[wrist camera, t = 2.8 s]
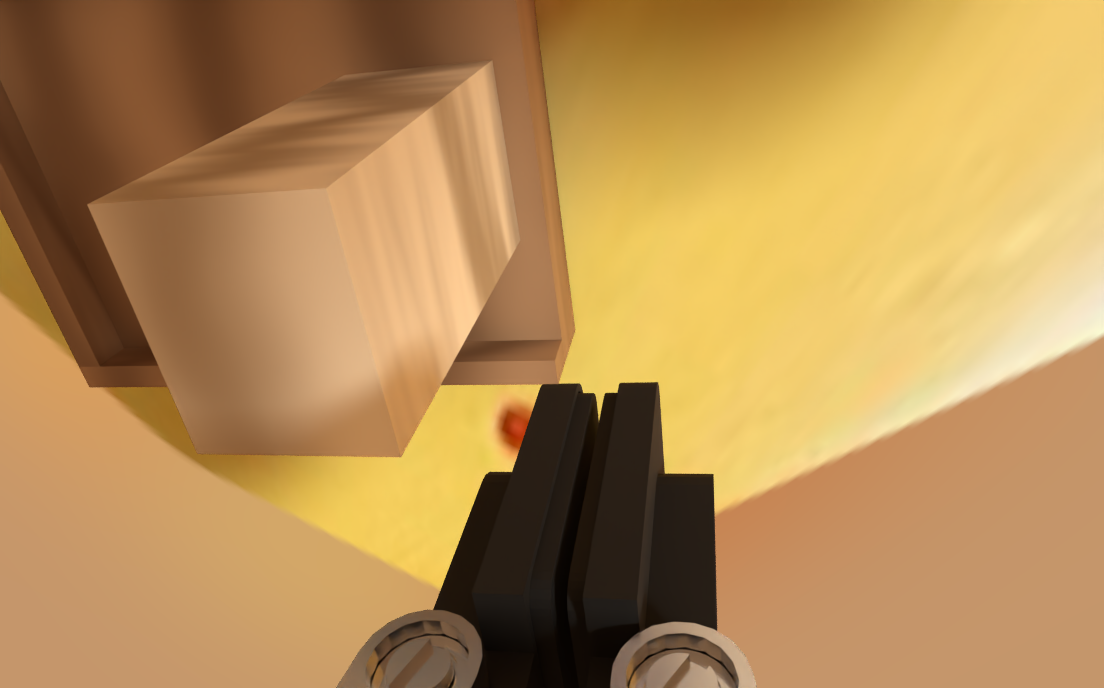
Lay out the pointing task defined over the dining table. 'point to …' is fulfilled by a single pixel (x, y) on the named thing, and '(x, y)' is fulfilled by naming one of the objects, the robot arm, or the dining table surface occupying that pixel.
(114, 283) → the walnut tray
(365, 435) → the beech block
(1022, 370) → the dining table surface
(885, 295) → the dining table surface
